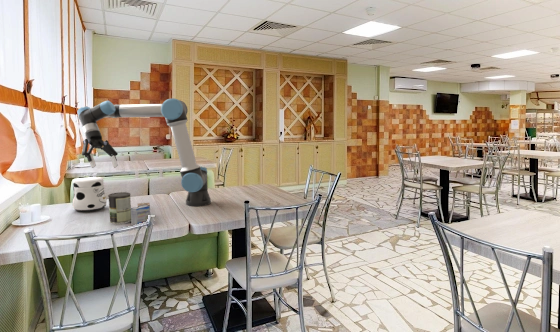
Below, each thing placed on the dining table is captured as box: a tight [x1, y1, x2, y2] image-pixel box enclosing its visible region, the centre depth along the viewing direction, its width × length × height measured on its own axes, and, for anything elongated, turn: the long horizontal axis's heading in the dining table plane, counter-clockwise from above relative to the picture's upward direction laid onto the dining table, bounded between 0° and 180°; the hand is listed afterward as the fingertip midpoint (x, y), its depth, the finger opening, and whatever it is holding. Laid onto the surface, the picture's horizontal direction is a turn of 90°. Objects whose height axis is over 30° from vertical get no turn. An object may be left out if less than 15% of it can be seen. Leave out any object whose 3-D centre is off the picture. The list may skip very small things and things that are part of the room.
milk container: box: [72, 176, 108, 212], centre depth 200 cm, size 17×17×18 cm
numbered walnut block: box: [137, 202, 151, 207], centre depth 185 cm, size 6×6×7 cm
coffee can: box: [107, 191, 132, 225], centre depth 176 cm, size 10×10×14 cm
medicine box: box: [130, 205, 151, 226], centre depth 172 cm, size 8×4×9 cm, turn 148°
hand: (105, 166), depth 186 cm, fingers open, 13 cm apart
